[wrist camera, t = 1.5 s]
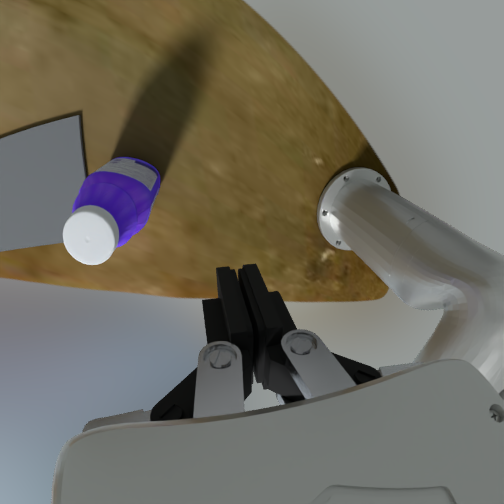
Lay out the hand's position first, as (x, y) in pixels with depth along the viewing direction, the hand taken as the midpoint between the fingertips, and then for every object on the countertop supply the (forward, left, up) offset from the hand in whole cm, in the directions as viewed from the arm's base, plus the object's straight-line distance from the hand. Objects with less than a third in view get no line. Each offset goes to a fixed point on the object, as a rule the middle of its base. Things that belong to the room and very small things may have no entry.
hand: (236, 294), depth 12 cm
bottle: (+9, 0, -25) cm, 27 cm away
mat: (+25, -1, -25) cm, 35 cm away
